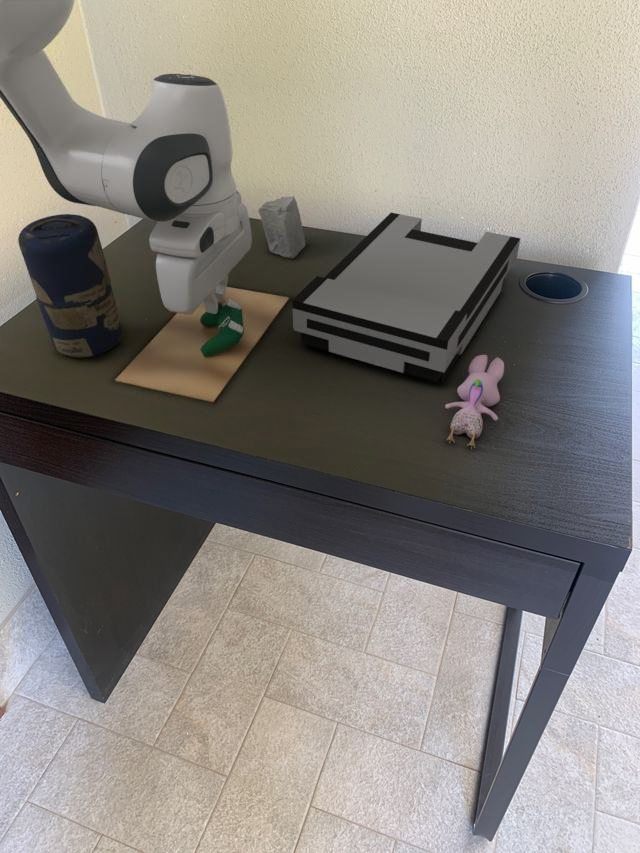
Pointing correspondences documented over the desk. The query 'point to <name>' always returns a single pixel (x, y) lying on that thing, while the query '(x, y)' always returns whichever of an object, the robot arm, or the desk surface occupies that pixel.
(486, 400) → the rabbit figure
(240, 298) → the cork mat
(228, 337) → the gaming controller
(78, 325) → the canister
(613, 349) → the desk surface
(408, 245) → the game console
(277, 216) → the mineral specimen
